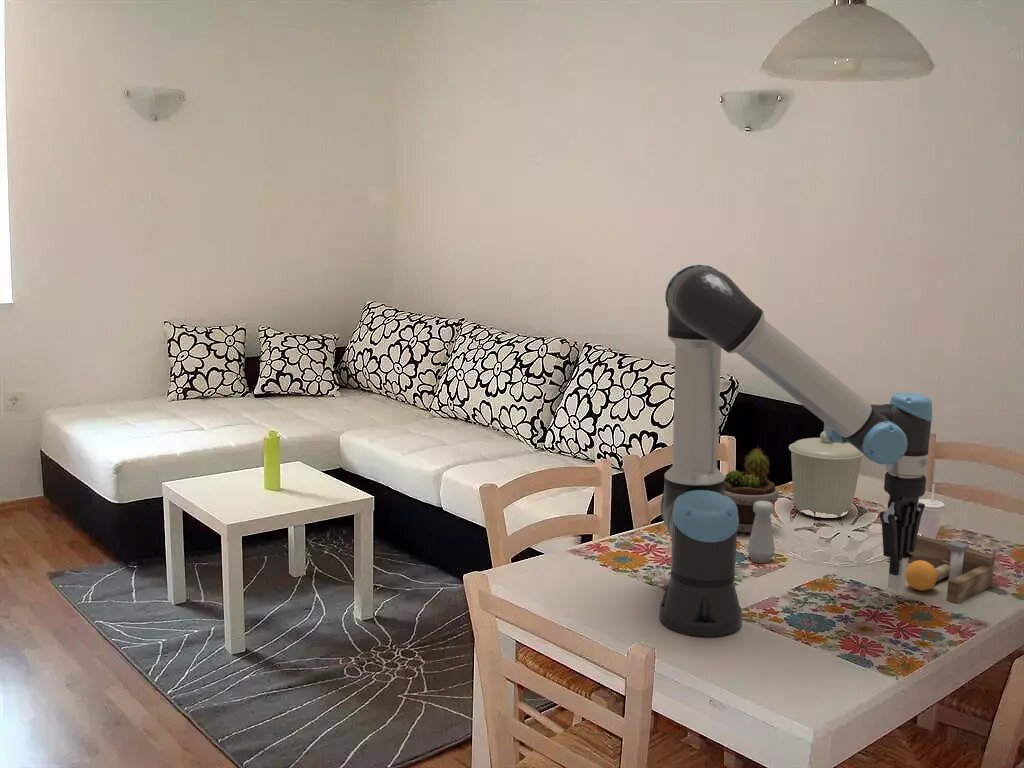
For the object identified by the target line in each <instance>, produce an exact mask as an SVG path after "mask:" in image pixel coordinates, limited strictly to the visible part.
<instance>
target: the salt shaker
mask: <svg viewBox="0 0 1024 768" xmlns="http://www.w3.org/2000/svg"><path fill="white" fill-rule="evenodd" d="M774 509H775V507H774V503H773V504H772V503H771V502H768V501H757V502H755V503H754V506H753V511H754V512H755V513H756V515H755V519H754V523H753V527H752V532H751V536H749V540H748V545H747V553H748V556H749V559H750V560H751V561H752V562H755V563H757V564H758V563H759V564H767V563H770V562H771V560H772V558H773V557H774V555H775V551H776V548H775V547H776V546H775V540H774V534H773V528H772V518H771V515H773V514H774V511H775V510H774Z"/></svg>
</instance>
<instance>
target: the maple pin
mask: <svg viewBox="0 0 1024 768" xmlns="http://www.w3.org/2000/svg"><path fill="white" fill-rule="evenodd" d="M935 570H936V573H937V580H936V582H939V581H940V580H942V579H944V578H946V577H947V578H949V570H950V562H949V561H945V560H941V561H940V566H939V567H937V568H935Z"/></svg>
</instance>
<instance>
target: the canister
mask: <svg viewBox="0 0 1024 768" xmlns="http://www.w3.org/2000/svg"><path fill="white" fill-rule="evenodd" d="M788 450H789V451H790V452H791V456H790V457H791V458H790V459H791V475H792V477H791V479H792V493H793V502H794V505H795V508H796V510H797V511H798V512H799V511H802V510H810V511H812V512H813V513H816V512H818V513H819V512H820V513H826V514H834V515H837V516H840V515H841V514H842V513H843V512H847V511H849V510H850V509H851V510H852V507H853V503H854V499H855V494H856V489H857V484H858V480H859V474H860V469H861V465H862V459H863V457H865V455H864V454H863V453H862V452H861V451H859V450H858V449H857V448H856V447H854V446H853V445H852V444H851V443H844V444H842V443H836V442H831V441H829V440H828V438H827V436H826V433H825V430H823V431H822V432H821V433H820V434H819V437H809V438H808V437H807V438H801V439H798V440H796V441H795V442H793V443H791V444H789V445H788ZM851 510H850V511H851Z"/></svg>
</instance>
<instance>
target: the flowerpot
mask: <svg viewBox="0 0 1024 768" xmlns="http://www.w3.org/2000/svg"><path fill="white" fill-rule="evenodd" d="M762 449H763V448H759V445H757V448H754V449H752V450H751V451H749V453H747V455H746V457H745V458H744V461H745V462H746V463H744V464H742V465H744V467H743V470H745V471H742V472H741V471H740V470H736V468H737V467H736V466H735V467H734V469H733V468H732V469H731V471H729V470H730V469H729V468H728V469H727V473H726V474H725V489H724V495H725V496H728V497H729V498H731V499H732V500H733V501H734V502H735V504H736V506H737V509H738V517H739V524H738V528H737V536H738V535H741V534H744V535H745V536H747V537H750V536H751V532H752V527H753V523H754V519H755V515H756V513H755V512H754V511H753V506H754V503H755V502H757V501H768V502H771V503H772V504H773V505H774V503H776V502H777V501H778V499H779V495H780V494H779V489H778V488H777V487H776V485H775V483H774V482H773V481H770V480H769V478H768V476H769V473H770V469H769V468H770V463H768V462H770V459H769V458H768V456H767V454H766V453H765V452H764V453H763V451H762ZM764 454H765V455H764Z"/></svg>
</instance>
